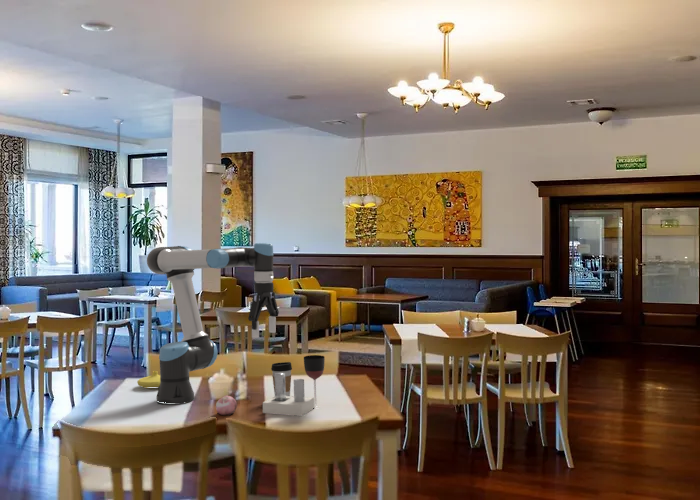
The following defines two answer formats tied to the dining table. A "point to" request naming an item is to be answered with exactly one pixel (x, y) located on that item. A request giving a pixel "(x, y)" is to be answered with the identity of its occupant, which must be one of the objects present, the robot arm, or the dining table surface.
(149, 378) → the yellow knobbed lid
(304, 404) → the socket block
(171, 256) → the robot arm
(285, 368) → the coffee cup
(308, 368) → the wineglass
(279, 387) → the pipe
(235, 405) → the red onion
